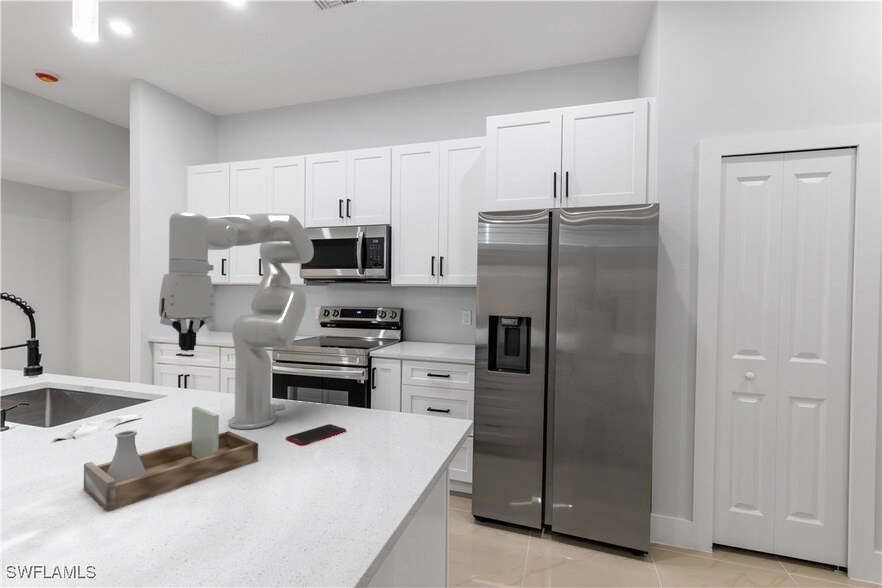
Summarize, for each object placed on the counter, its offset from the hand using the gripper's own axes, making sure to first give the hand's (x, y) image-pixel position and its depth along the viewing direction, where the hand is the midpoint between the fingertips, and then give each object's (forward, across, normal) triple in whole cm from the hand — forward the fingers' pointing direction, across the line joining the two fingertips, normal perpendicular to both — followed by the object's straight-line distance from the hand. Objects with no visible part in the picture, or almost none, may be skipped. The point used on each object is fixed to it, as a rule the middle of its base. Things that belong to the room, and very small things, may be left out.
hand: (187, 349), depth 95 cm
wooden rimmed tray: (+25, +4, +6) cm, 26 cm away
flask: (+24, +13, +6) cm, 28 cm away
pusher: (+24, -1, +6) cm, 25 cm away
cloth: (+26, +4, -43) cm, 50 cm away
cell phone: (+26, -29, +9) cm, 40 cm away
